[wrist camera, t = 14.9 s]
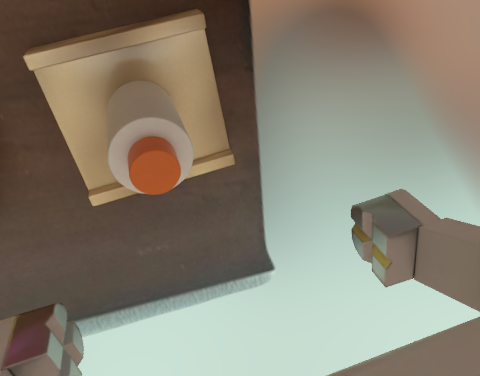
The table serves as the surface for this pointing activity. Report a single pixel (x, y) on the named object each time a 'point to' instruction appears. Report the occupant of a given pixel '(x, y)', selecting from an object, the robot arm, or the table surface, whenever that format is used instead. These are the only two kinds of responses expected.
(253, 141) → the table surface
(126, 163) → the white bottle
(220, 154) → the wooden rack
